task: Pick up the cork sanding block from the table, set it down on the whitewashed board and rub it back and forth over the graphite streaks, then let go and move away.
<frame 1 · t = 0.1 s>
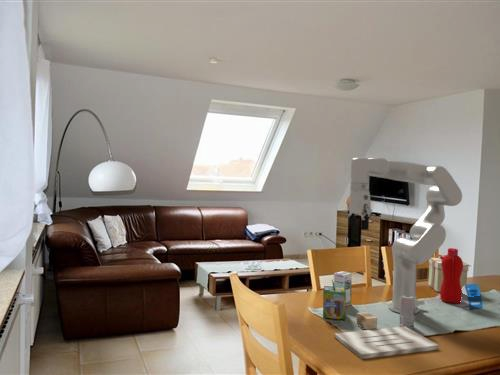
hand: (358, 227, 180), 37 cm above the table, tool pointing down, fingers open, 9 cm apart
sanding block: (366, 327, 166), on the table
energy drink: (406, 327, 168), on the table
gift box: (448, 289, 224), on the table
chalk box: (334, 316, 178), on the table
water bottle: (450, 301, 202), on the table
syrup box: (342, 304, 194), on the table
board: (385, 343, 151), on the table
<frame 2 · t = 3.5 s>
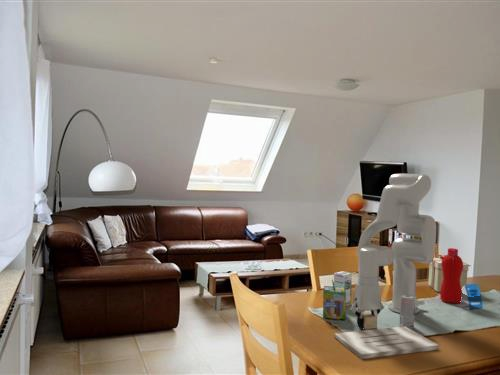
hand: (366, 326, 166), 0 cm above the table, tool pointing down, fingers closed on sanding block, 4 cm apart
sanding block: (366, 327, 166), on the table, touching gripper
everything else where it was.
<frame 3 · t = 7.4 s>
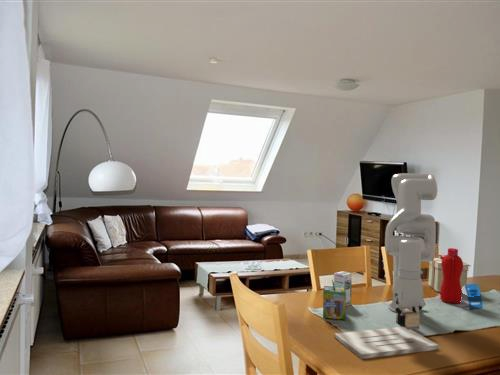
hand: (407, 324, 153), 6 cm above the table, tool pointing down, fingers closed on sanding block, 4 cm apart
sanding block: (407, 325, 153), point 6 cm above the table, touching gripper
everything else where it was.
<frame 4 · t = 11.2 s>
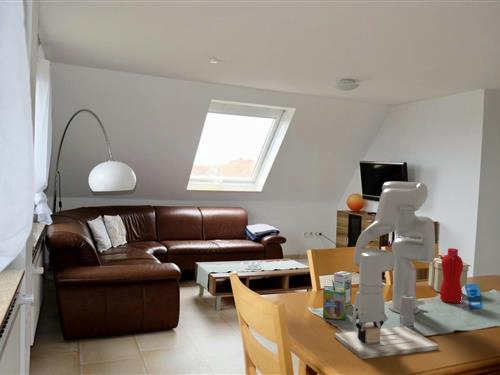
hand: (368, 339, 149), 2 cm above the table, tool pointing down, fingers closed on sanding block, 4 cm apart
sanding block: (368, 340, 149), point 2 cm above the table, touching gripper
everything else where it was.
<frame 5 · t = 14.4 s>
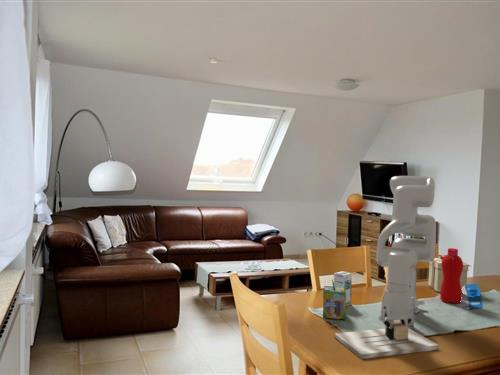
hand: (396, 337, 152), 2 cm above the table, tool pointing down, fingers closed on sanding block, 4 cm apart
sanding block: (396, 337, 152), point 2 cm above the table, touching gripper
everything else where it was.
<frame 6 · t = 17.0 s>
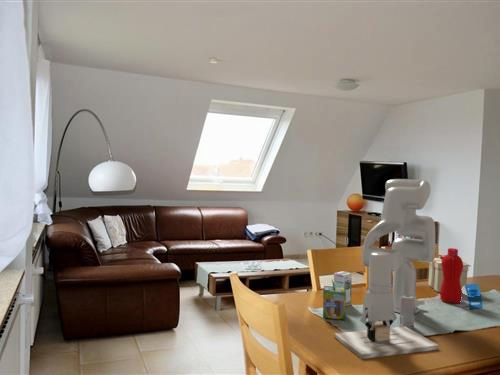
hand: (377, 338, 150), 2 cm above the table, tool pointing down, fingers closed on sanding block, 4 cm apart
sanding block: (377, 339, 150), point 2 cm above the table, touching gripper
everything else where it was.
when the fingers open (2 cm above the table, at t = 18.9 s): sanding block stays where it is, resting on board.
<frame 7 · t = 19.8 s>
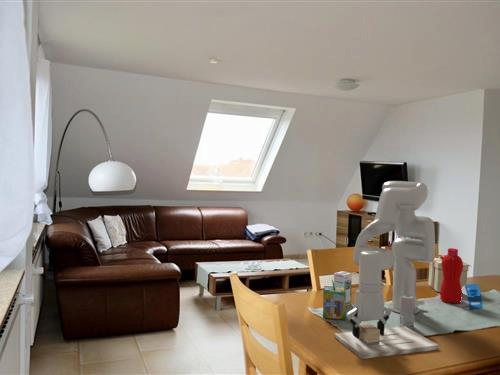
hand: (368, 335, 149), 3 cm above the table, tool pointing down, fingers open, 9 cm apart
sanding block: (367, 341, 149), point 1 cm above the table, touching board
everything else where it was.
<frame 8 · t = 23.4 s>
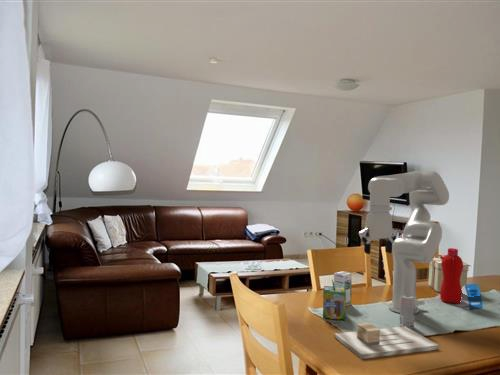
hand: (378, 253, 169), 28 cm above the table, tool pointing down, fingers open, 9 cm apart
nothing on the table moved.
at the end: sanding block inside the target area on the board (6.9 cm from its centre), point 1.5 cm above the board's base; sanding block tilted 0°; sanding block moved 17.5 cm from its start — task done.
